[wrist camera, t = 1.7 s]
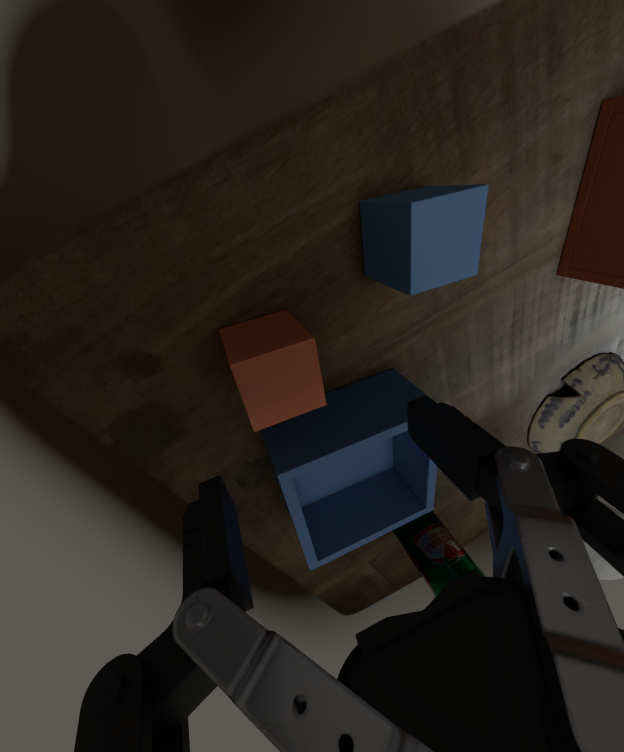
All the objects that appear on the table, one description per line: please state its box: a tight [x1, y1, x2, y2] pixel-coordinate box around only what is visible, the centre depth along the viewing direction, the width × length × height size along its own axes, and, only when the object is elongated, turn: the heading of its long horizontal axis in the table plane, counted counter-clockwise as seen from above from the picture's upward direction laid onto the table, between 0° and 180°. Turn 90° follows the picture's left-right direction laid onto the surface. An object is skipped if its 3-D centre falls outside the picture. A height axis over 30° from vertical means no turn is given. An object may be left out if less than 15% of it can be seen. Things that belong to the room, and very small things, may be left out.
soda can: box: [392, 511, 486, 597], centre depth 32 cm, size 5×5×12 cm
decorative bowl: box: [528, 353, 624, 454], centre depth 38 cm, size 15×4×15 cm
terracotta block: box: [219, 309, 327, 432], centre depth 18 cm, size 4×4×5 cm
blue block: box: [360, 184, 488, 295], centre depth 18 cm, size 4×4×5 cm
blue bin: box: [261, 369, 437, 571], centre depth 25 cm, size 12×12×6 cm
